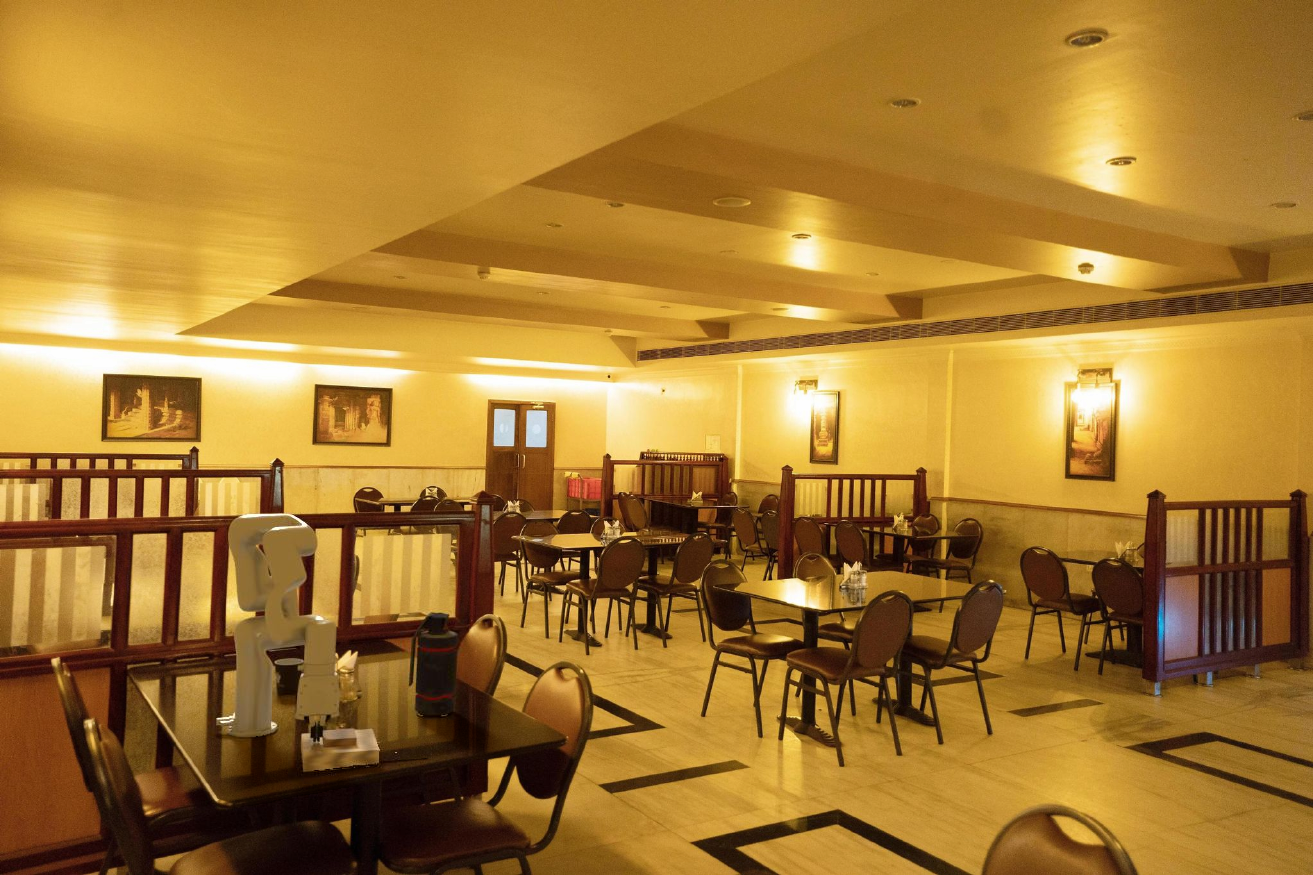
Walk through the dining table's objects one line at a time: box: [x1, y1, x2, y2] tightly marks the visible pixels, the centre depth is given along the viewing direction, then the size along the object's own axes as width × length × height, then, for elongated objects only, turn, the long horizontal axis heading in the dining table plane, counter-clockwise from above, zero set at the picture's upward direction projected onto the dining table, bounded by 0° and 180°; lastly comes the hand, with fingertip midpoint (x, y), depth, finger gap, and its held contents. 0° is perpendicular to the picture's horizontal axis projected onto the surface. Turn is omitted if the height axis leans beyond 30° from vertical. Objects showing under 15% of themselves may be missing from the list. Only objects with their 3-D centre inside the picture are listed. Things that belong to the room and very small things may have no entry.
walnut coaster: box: [322, 728, 357, 748], centre depth 249 cm, size 8×8×2 cm
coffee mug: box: [274, 658, 304, 696], centre depth 308 cm, size 12×9×10 cm
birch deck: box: [300, 728, 380, 773], centre depth 249 cm, size 18×18×4 cm
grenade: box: [408, 611, 459, 716], centre depth 292 cm, size 14×12×30 cm
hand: (316, 740), depth 247 cm, fingers closed
